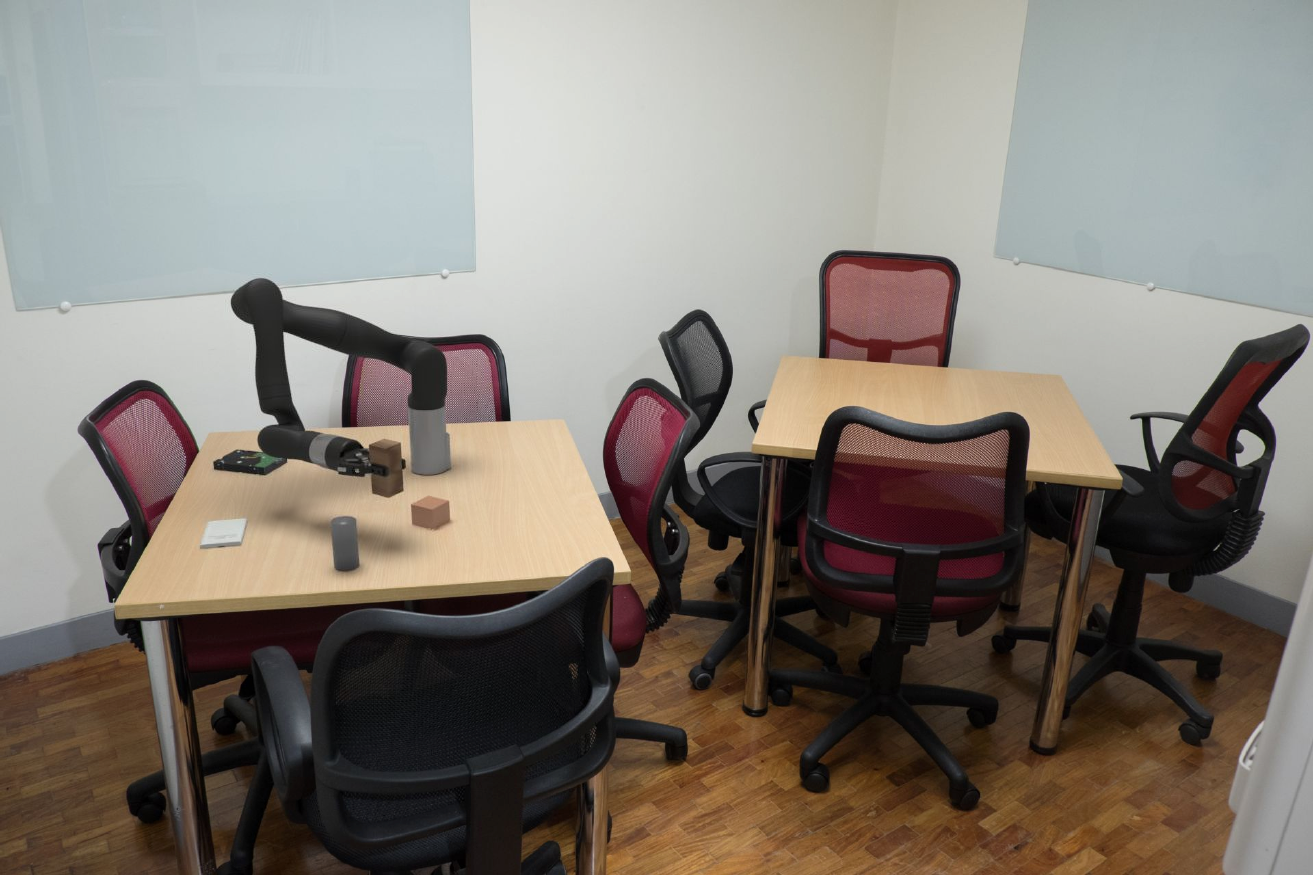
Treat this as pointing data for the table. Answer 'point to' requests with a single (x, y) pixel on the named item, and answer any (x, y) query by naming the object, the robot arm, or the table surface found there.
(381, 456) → the walnut column
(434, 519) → the terracotta block
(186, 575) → the table surface
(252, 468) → the disk drive
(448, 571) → the table surface
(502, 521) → the table surface
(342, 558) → the charcoal cylinder
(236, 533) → the external hard drive
